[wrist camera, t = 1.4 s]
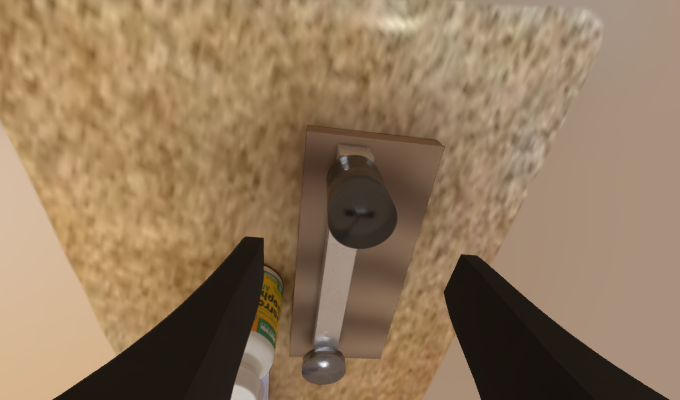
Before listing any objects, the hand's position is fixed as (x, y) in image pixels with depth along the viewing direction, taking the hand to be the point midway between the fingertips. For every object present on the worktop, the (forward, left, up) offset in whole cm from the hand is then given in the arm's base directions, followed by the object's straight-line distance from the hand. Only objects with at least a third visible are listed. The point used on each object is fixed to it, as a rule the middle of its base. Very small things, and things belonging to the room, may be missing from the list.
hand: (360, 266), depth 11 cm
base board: (-9, -2, -11) cm, 15 cm away
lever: (-9, 0, -10) cm, 13 cm away
